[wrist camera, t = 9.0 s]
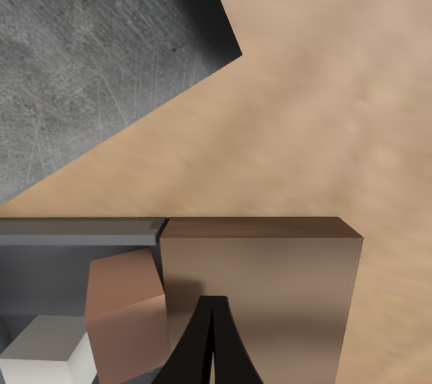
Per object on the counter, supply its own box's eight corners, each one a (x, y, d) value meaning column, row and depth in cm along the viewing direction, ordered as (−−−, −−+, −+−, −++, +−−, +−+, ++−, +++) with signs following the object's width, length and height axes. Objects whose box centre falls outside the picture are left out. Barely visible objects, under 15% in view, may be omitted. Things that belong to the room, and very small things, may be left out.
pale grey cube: (13, 406, 14) (49, 357, 17) (78, 409, 14) (103, 360, 17) (-4, 358, 13) (38, 314, 16) (67, 361, 13) (95, 317, 15)
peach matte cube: (170, 361, 11) (101, 391, 10) (155, 302, 14) (102, 319, 13) (164, 294, 10) (84, 319, 8) (149, 247, 13) (90, 260, 12)
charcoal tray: (178, 372, 18) (170, 421, 15) (22, 369, 18) (-16, 416, 15) (165, 217, 14) (150, 242, 11) (-33, 218, 14) (-99, 242, 11)
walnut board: (313, 374, 17) (328, 415, 15) (182, 372, 18) (176, 411, 15) (338, 217, 13) (363, 237, 11) (170, 217, 14) (159, 237, 11)
